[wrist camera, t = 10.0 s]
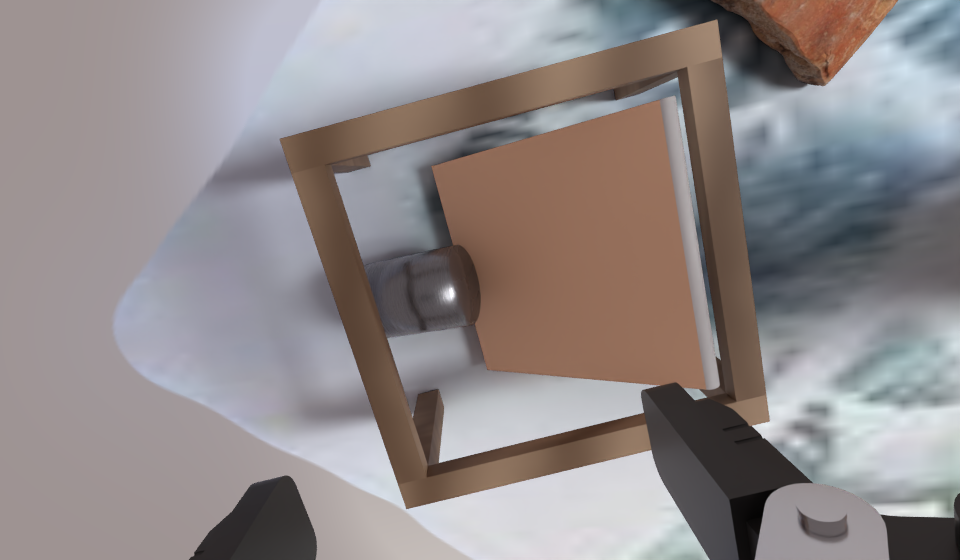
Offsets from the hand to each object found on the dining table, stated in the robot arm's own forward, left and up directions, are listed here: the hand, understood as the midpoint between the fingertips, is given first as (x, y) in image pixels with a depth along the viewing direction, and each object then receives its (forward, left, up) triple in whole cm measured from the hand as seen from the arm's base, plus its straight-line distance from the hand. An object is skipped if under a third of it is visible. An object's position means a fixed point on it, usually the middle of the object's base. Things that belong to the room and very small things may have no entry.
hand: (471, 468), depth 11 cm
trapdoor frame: (-4, 0, -22) cm, 22 cm away
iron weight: (0, 0, -18) cm, 18 cm away
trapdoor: (-6, 0, -17) cm, 18 cm away
